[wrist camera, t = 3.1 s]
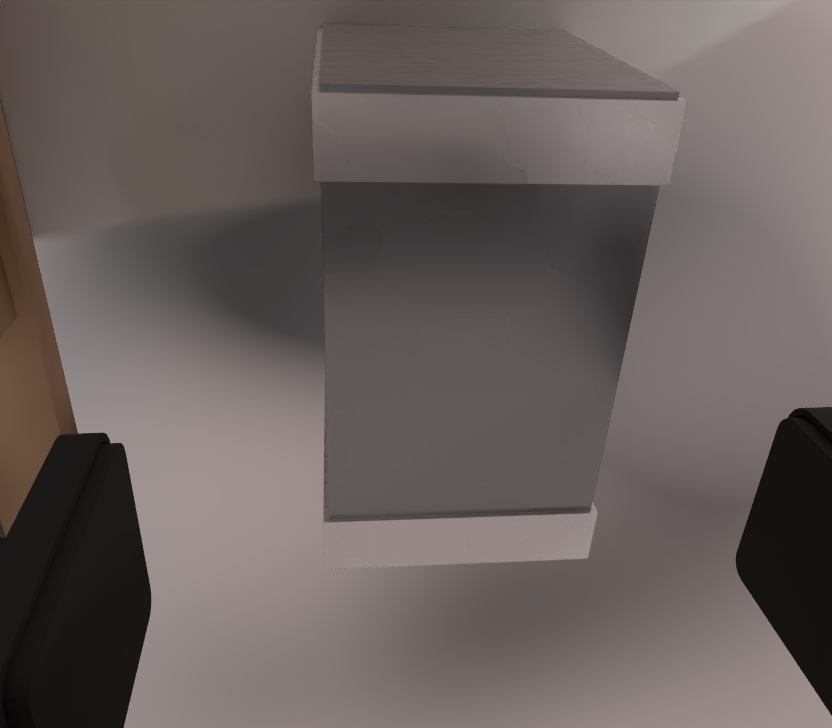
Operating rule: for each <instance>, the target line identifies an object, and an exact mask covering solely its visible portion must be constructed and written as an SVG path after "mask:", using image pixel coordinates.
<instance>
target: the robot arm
mask: <svg viewBox="0 0 832 728" xmlns="http://www.w3.org/2000/svg"><path fill="white" fill-rule="evenodd" d="M736 566H737V571H738V574H739V576H740V578H741V580H742V582H743V583H744V585H745V586H746V588H747V589H748V590H749V592H750V594H751V595H752V597H753V598H754V600H755V601H756V603H757V604H758V605H759V607H760V609H761V610H762V612H763V613H764V615H765V616H766V618H767V619H768V621H769V622H770V624H771V625H772V627H773V628H774V630H775V631H776V632H777V634H778V636H779V637H780V639H781V640H782V642H783V643H784V644H785V646H786V647H787V649H788V651H789V652H790V653H791V655H792V656H793V658H794V660H795V661H796V663H797V664H798V666H799V667H800V669H801V670H802V672H803V673H804V675H805V676H806V677H807V679H808V681H809V682H810V684H811V685H812V687H813V688H814V689H815V691H816V693H817V694H818V696H819V697H820V698H821V700H822V702H823V703H824V705H825V706H826V707H827V709H828V710H829V712H830V714H831V715H832V407H822V408H799V409H796V410H794V411H793V412H792V413H791V414H790V415H789V417H788V418H787V419H784V420H783V421H781V422H780V424H779V426H778V428H777V431H776V434H775V437H774V440H773V443H772V446H771V450H770V453H769V456H768V459H767V462H766V465H765V468H764V471H763V474H762V477H761V480H760V483H759V486H758V489H757V493H756V495H755V498H754V502H753V504H752V508H751V511H750V514H749V517H748V520H747V523H746V526H745V529H744V532H743V535H742V538H741V541H740V544H739V547H738V550H737V554H736ZM150 611H151V589H150V583H149V578H148V573H147V567H146V562H145V556H144V550H143V545H142V539H141V534H140V528H139V523H138V518H137V513H136V507H135V501H134V496H133V490H132V485H131V479H130V474H129V469H128V463H127V458H126V453H125V449H124V446H123V444H121V443H112V444H111V443H110V440H109V438H108V436H107V434H105V433H84V434H61V435H59V436H58V437H57V438H56V440H55V441H54V443H53V445H52V447H51V449H50V451H49V453H48V455H47V457H46V459H45V461H44V463H43V465H42V467H41V469H40V471H39V473H38V475H37V477H36V479H35V481H34V483H33V485H32V487H31V489H30V491H29V493H28V495H27V496H26V498H25V500H24V502H23V504H22V506H21V508H20V510H19V512H18V514H17V516H16V518H15V520H14V522H13V524H12V526H11V528H10V530H9V532H8V534H7V536H6V537H3V538H0V728H124V723H125V719H126V714H127V711H128V706H129V702H130V698H131V694H132V689H133V685H134V681H135V677H136V673H137V668H138V664H139V660H140V656H141V651H142V647H143V643H144V639H145V634H146V630H147V625H148V622H149V617H150Z"/></svg>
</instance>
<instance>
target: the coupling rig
mask: <svg viewBox="0 0 832 728" xmlns="http://www.w3.org/2000/svg"><path fill="white" fill-rule="evenodd" d="M61 434H78V432H77V428H76V424H75V419H74V415H73V411H72V406H71V402H70V398H69V394H68V390H67V386H66V381H65V376H64V372H63V368H62V363H61V359H60V355H59V351H58V346H57V342H56V338H55V333H54V329H53V326H52V321H51V317H50V312H49V308H48V303H47V299H46V295H45V291H44V286H43V282H42V278H41V273H40V269H39V265H38V260H37V256H36V252H35V248H34V244H33V239H32V235H31V230H30V226H29V222H28V217H27V213H26V209H25V205H24V200H23V196H22V192H21V187H20V183H19V179H18V175H17V170H16V166H15V162H14V157H13V153H12V149H11V144H10V140H9V136H8V132H7V127H6V123H5V119H4V114H3V110H2V106H1V102H0V538H3V537H6V536H7V534H8V532H9V530H10V528H11V526H12V524H13V522H14V520H15V518H16V516H17V514H18V512H19V510H20V508H21V506H22V504H23V502H24V500H25V498H26V496H27V495H28V493H29V491H30V489H31V487H32V485H33V483H34V481H35V479H36V477H37V475H38V473H39V471H40V469H41V467H42V465H43V463H44V461H45V459H46V457H47V455H48V453H49V451H50V449H51V447H52V445H53V443H54V441H55V440H56V438H57V437H58V436H59V435H61Z"/></svg>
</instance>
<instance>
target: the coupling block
mask: <svg viewBox="0 0 832 728" xmlns="http://www.w3.org/2000/svg"><path fill="white" fill-rule="evenodd" d="M311 104H312V139H313V174H314V181H316V182H321V202H322V244H323V285H324V327H325V328H324V329H325V438H324V445H325V446H324V522H323V524H324V557H325V569H346V568H371V567H394V566H417V565H443V564H467V563H491V562H515V561H536V560H537V561H539V560H563V559H586V558H588V554H589V550H590V545H591V541H592V536H593V532H594V527H595V522H596V518H597V511H596V508H595V506H594V504H593V498H594V493H595V488H596V483H597V479H598V473H599V469H600V464H601V460H602V455H603V450H604V446H605V441H606V436H607V432H608V427H609V422H610V417H611V413H612V408H613V403H614V398H615V394H616V389H617V384H618V380H619V375H620V370H621V365H622V361H623V356H624V351H625V347H626V342H627V337H628V332H629V328H630V323H631V318H632V314H633V309H634V304H635V299H636V295H637V290H638V285H639V281H640V276H641V271H642V266H643V262H644V257H645V252H646V247H647V243H648V238H649V233H650V229H651V224H652V219H653V215H654V210H655V205H656V200H657V196H658V191H659V186H660V185H669V184H670V179H671V175H672V170H673V166H674V160H675V156H676V152H677V147H678V143H679V138H680V134H681V129H682V124H683V120H684V115H685V111H686V106H687V101H686V100H684V99H682V98H681V97H679V92H678V91H677V90H675V89H673V88H671V87H669V86H667V85H665V84H663V83H662V82H660V81H658V80H656V79H654V78H652V77H650V76H649V75H647V74H645V73H643V72H641V71H639V70H637V69H635V68H634V67H632V66H630V65H628V64H626V63H624V62H622V61H620V60H619V59H617V58H615V57H613V56H611V55H609V54H607V53H606V52H604V51H602V50H600V49H598V48H596V47H594V46H592V45H591V44H589V43H587V42H585V41H583V40H581V39H579V38H577V37H576V36H574V35H572V34H570V33H568V32H566V31H540V30H510V29H479V28H448V27H417V26H386V25H355V24H325V23H323V29H318V33H317V42H316V52H315V61H314V71H313V80H312V89H311Z"/></svg>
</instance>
